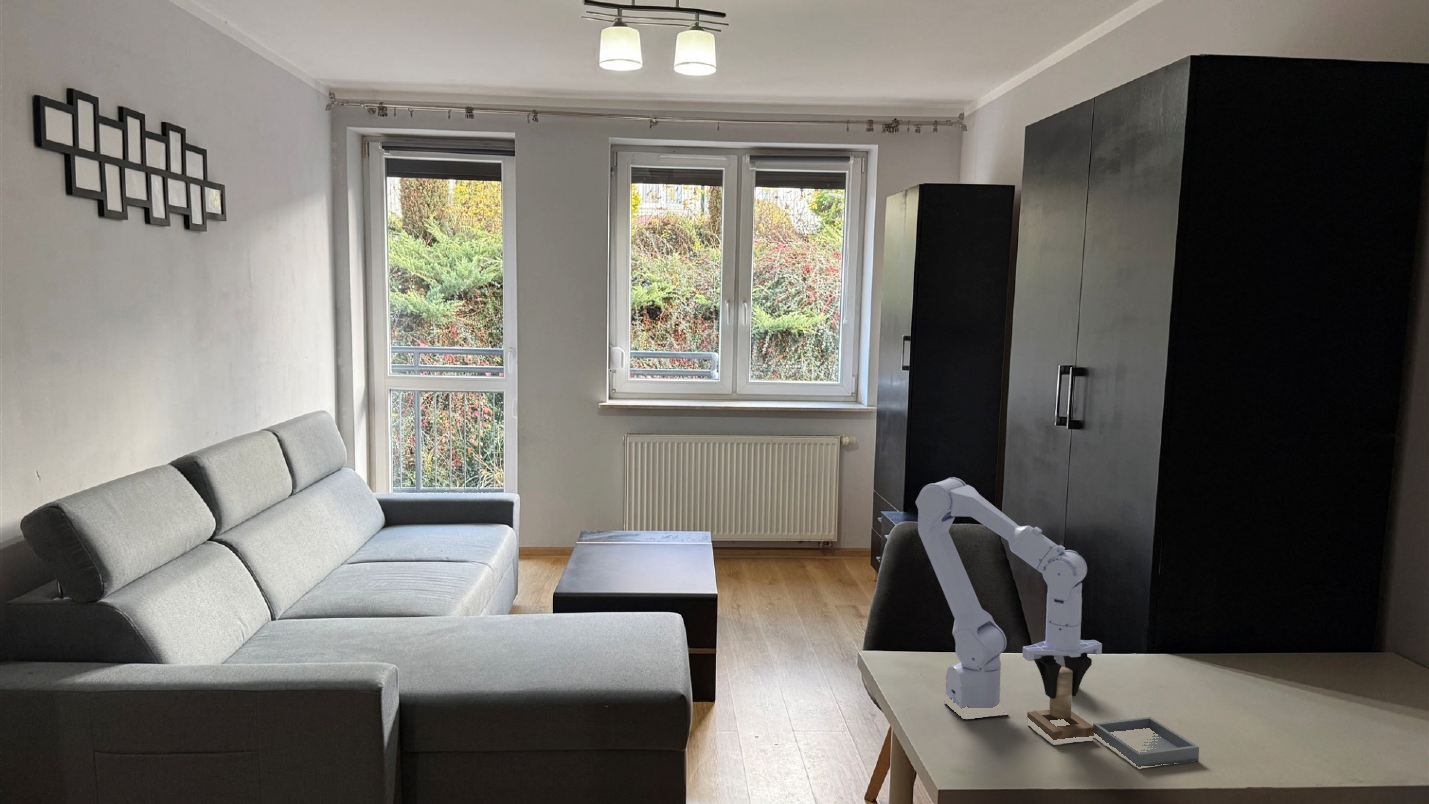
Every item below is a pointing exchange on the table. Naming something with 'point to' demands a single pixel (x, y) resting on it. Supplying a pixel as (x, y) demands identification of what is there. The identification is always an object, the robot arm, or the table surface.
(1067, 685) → the dowel
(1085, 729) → the frame
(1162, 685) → the table surface
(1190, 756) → the tray
